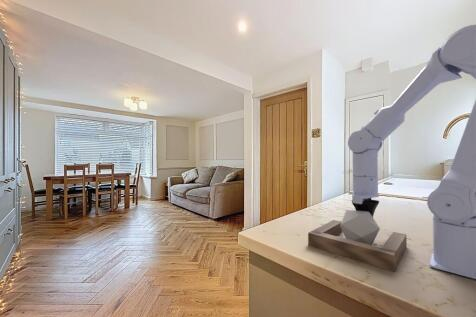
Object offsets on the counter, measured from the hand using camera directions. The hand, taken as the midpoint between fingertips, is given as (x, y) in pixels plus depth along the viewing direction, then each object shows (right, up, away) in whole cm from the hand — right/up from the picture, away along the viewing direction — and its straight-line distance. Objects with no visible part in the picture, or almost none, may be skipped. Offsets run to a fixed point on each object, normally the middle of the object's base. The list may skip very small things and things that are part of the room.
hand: (365, 226), depth 55 cm
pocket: (-5, -3, -5) cm, 8 cm away
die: (-4, -3, -3) cm, 6 cm away
